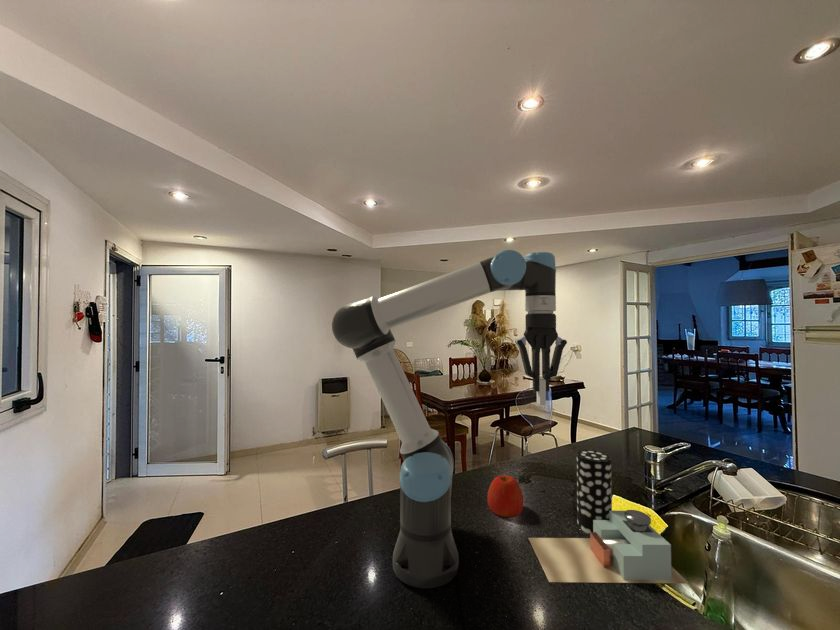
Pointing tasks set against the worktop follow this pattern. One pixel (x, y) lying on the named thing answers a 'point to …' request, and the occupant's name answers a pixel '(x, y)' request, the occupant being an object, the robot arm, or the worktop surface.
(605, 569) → the base board
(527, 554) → the worktop surface
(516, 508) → the apple
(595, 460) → the white-spotted black cylinder
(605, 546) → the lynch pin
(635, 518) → the plunger
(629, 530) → the block
